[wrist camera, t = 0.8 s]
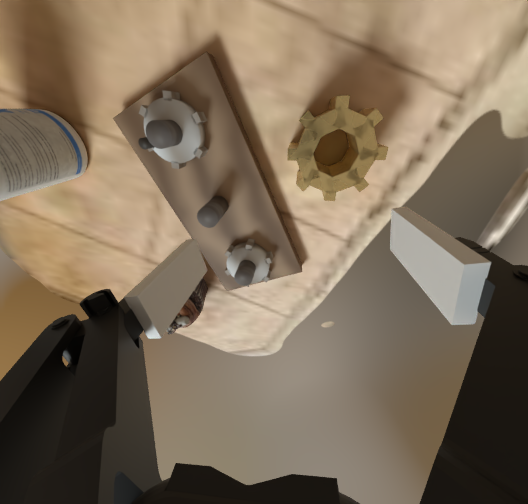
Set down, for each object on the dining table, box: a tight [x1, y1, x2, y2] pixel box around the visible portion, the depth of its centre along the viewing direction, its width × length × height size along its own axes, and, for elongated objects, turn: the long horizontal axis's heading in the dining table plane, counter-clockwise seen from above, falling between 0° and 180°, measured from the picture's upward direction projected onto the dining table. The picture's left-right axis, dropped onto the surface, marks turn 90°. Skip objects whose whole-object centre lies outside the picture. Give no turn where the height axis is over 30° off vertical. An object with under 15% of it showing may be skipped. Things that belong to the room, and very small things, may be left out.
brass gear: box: [288, 95, 388, 201], centre depth 26 cm, size 10×10×6 cm
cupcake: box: [167, 278, 207, 334], centre depth 41 cm, size 10×10×10 cm
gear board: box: [113, 52, 302, 291], centre depth 32 cm, size 15×31×7 cm, turn 24°
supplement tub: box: [0, 109, 88, 201], centre depth 28 cm, size 10×10×15 cm
